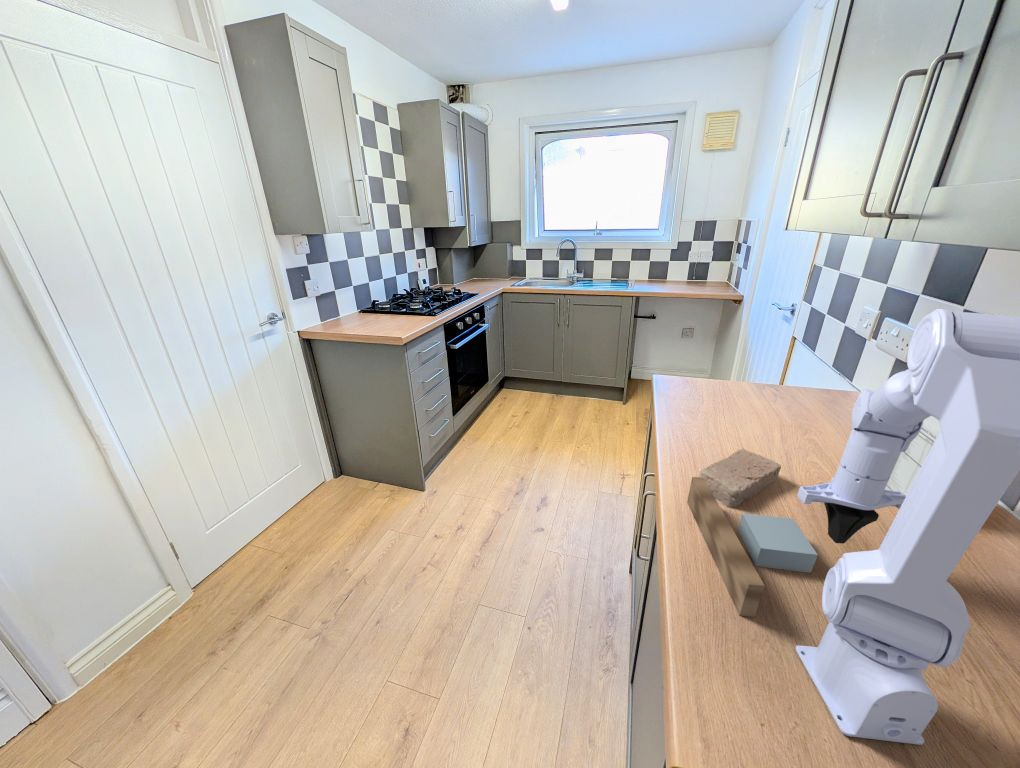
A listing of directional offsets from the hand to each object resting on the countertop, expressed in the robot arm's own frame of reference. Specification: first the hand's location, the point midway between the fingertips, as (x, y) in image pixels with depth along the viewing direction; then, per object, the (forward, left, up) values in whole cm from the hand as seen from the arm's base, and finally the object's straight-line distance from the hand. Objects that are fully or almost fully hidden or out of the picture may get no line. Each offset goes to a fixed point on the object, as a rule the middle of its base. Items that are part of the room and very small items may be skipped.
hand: (835, 538), depth 63 cm
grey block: (0, +9, -4) cm, 10 cm away
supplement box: (+15, -25, -3) cm, 30 cm away
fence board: (-1, +19, -3) cm, 19 cm away
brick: (+18, +8, -4) cm, 20 cm away
